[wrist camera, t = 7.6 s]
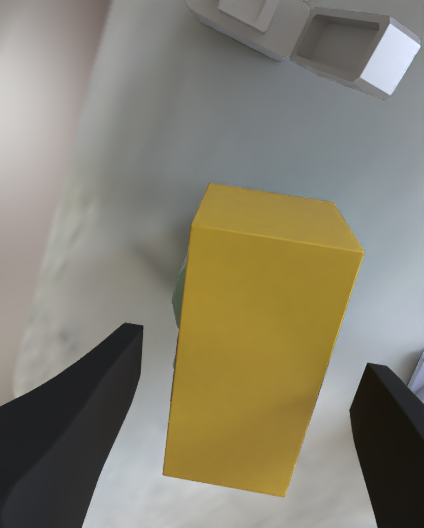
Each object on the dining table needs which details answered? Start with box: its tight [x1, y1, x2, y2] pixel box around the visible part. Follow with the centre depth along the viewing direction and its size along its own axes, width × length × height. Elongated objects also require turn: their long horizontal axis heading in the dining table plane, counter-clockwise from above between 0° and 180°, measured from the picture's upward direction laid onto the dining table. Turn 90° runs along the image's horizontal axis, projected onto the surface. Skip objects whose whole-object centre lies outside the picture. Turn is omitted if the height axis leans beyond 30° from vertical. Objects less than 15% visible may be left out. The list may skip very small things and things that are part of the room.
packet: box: [163, 183, 364, 497], centre depth 15 cm, size 10×5×5 cm, turn 173°
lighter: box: [185, 0, 421, 100], centre depth 14 cm, size 7×2×8 cm, turn 66°
